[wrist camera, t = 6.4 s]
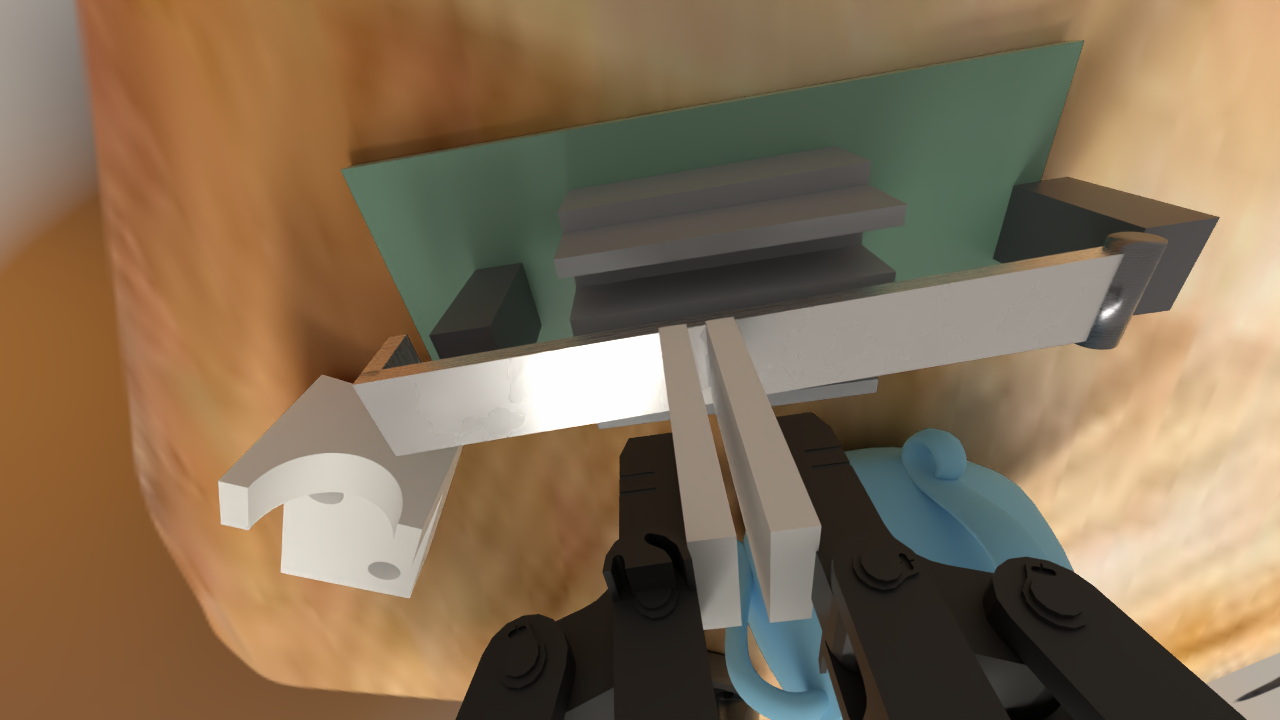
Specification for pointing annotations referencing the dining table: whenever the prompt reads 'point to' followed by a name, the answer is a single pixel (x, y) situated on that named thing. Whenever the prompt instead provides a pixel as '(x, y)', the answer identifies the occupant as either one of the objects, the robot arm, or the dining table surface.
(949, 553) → the decorative pot
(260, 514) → the bracket
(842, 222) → the heatsink board
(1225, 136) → the dining table surface
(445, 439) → the strap
